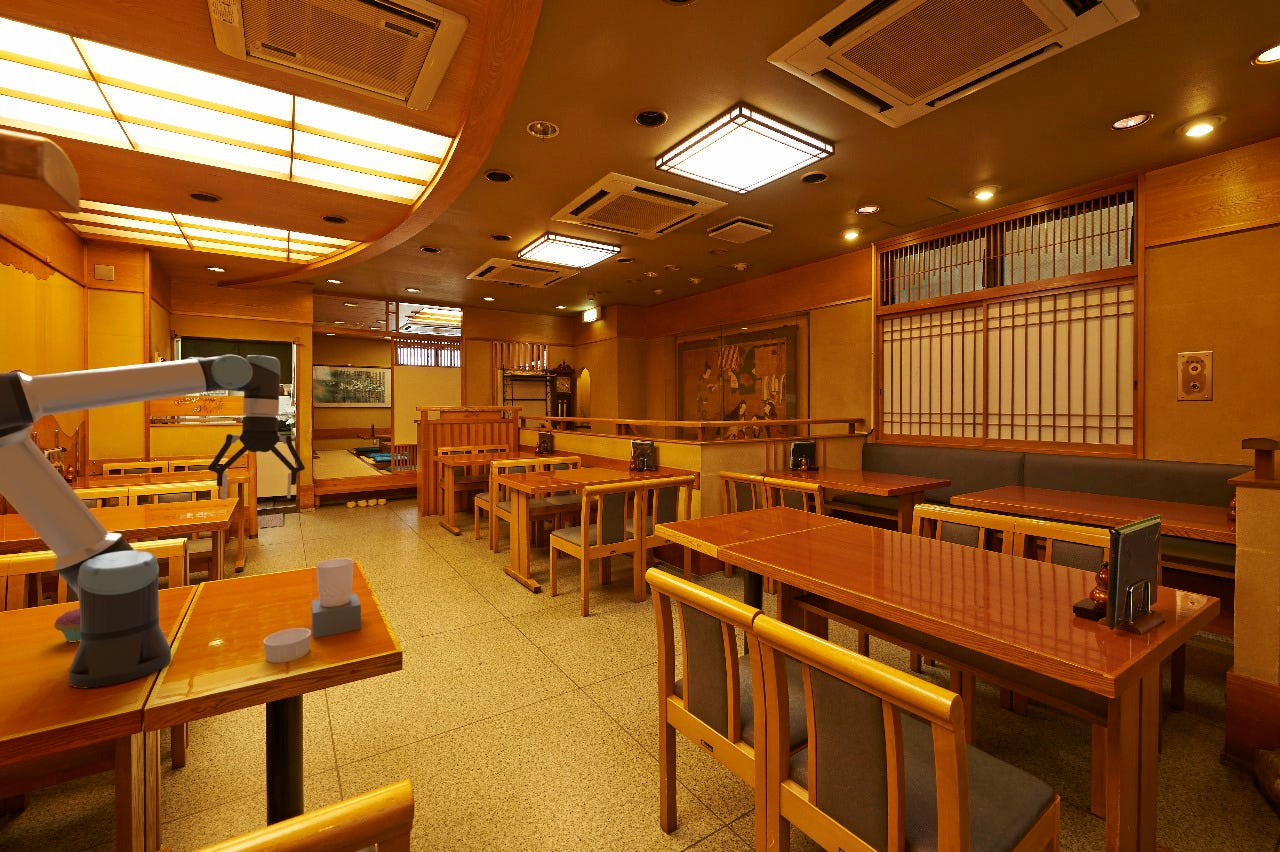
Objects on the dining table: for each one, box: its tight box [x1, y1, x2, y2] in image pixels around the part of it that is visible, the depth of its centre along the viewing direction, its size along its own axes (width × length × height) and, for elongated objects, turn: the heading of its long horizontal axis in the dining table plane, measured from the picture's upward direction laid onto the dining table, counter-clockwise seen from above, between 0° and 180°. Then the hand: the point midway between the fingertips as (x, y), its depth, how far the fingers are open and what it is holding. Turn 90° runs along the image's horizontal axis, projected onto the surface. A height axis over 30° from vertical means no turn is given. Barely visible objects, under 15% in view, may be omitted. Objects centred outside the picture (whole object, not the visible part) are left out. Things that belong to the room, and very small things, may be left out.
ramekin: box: [262, 627, 313, 664], centre depth 118 cm, size 9×9×4 cm
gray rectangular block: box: [311, 593, 362, 639], centre depth 133 cm, size 10×10×6 cm
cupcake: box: [53, 608, 81, 641], centre depth 126 cm, size 9×8×12 cm
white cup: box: [316, 557, 354, 607], centre depth 133 cm, size 8×8×10 cm
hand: (257, 498), depth 139 cm, fingers open, 13 cm apart
